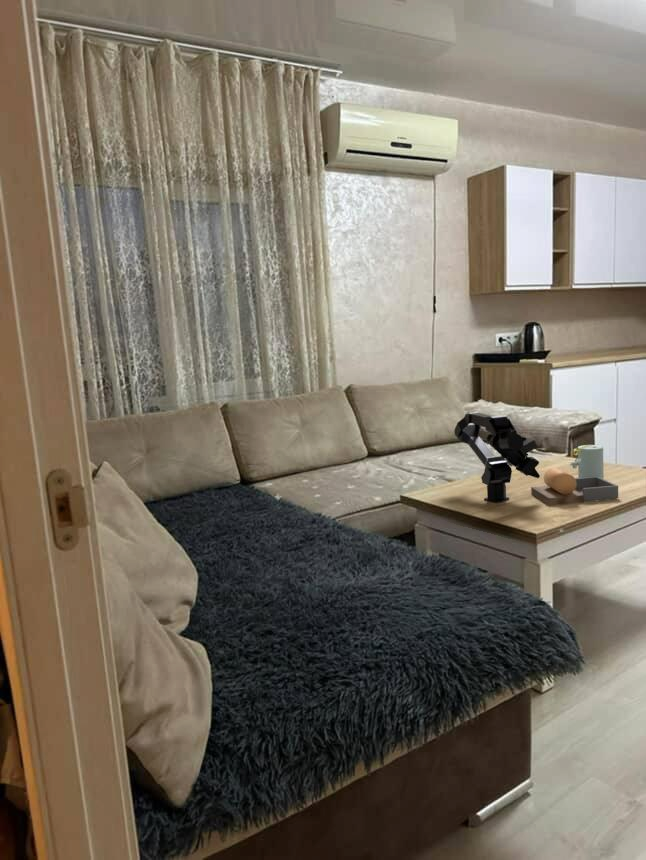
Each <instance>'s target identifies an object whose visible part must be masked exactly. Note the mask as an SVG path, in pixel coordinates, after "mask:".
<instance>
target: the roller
mask: <svg viewBox="0 0 646 860" xmlns="http://www.w3.org/2000/svg"><path fill="white" fill-rule="evenodd" d="M543 482H544V484H545V486H549V487H551V488H553V489H554V490H556V491H558V492H559V493H561V494H564V495H567V494H570V493H572V492H573V491H574V490H575V488H576V485H577V483H576V480H575V477H574V476H573V475H571V474H569V473H567V472H565V471H563V470H561V469H558V468H557V467H552V468H549V469H547V470H546V471H545V473H544V474H543Z"/></svg>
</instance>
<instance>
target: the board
mask: <svg viewBox="0 0 646 860" xmlns="http://www.w3.org/2000/svg"><path fill="white" fill-rule="evenodd" d="M530 491H531V495H533V496H534V497H536V498H538V499H539V500H540V501H542V502H543V503H545V504H546V505H547V506H556V505H557V504H559V505H568V504H569V505H570V503H571V504H580V503H585V502H584V495H583V494H581V493H579V492H577V491H575V490H574V491H573V492H572V493H570V494H567V495H564V494H561V493H559V492H558V491H556V490H554V489H553V488H551V487H549V486H547V485H542V486H541V485H540V486H531V487H530Z"/></svg>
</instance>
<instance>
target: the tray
mask: <svg viewBox="0 0 646 860" xmlns="http://www.w3.org/2000/svg"><path fill="white" fill-rule="evenodd" d="M574 478H575V477H574ZM575 480H576V483H577V485H576V488H575V491H577V492H579V493H581V494H583V495H584V502H583V503H585V502H597V501H596V500H599V501H607V500H606V499H611V500H616V499H615V498H618V499H619V485H617V484H616V483H615V484H614V483H613V482H611V481H608V480H606V479H605V478H604V479H602V478H600V477H587V478H578V477H577V478H575Z"/></svg>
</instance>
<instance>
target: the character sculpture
mask: <svg viewBox="0 0 646 860" xmlns="http://www.w3.org/2000/svg"><path fill="white" fill-rule="evenodd" d="M572 454H573V456H577V458H575V460H574V461H571V462H570V466H572V468H573V469H577V468H578V469H577V470H578V471H577V473H578V477H577V478H587V477H600V478H602V479H604V480H605V478H604V447H603V445H597V444H585V445H583V444H582V445H579V446H578V447H577V448H574V449H573V451H572Z"/></svg>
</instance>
